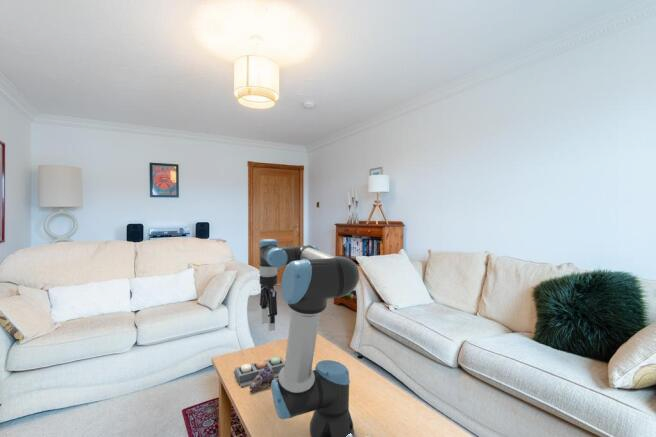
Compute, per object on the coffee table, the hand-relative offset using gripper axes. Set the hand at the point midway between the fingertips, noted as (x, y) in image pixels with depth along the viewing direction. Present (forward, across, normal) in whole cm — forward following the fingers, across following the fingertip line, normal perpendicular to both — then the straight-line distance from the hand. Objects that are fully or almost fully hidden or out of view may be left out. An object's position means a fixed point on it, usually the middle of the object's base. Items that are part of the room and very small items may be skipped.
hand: (268, 326), depth 133 cm
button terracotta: (+23, +9, 0) cm, 24 cm away
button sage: (+23, +9, -7) cm, 25 cm away
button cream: (+23, +9, +7) cm, 25 cm away
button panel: (+25, +9, 0) cm, 27 cm away
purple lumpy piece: (+25, 0, +3) cm, 25 cm away
